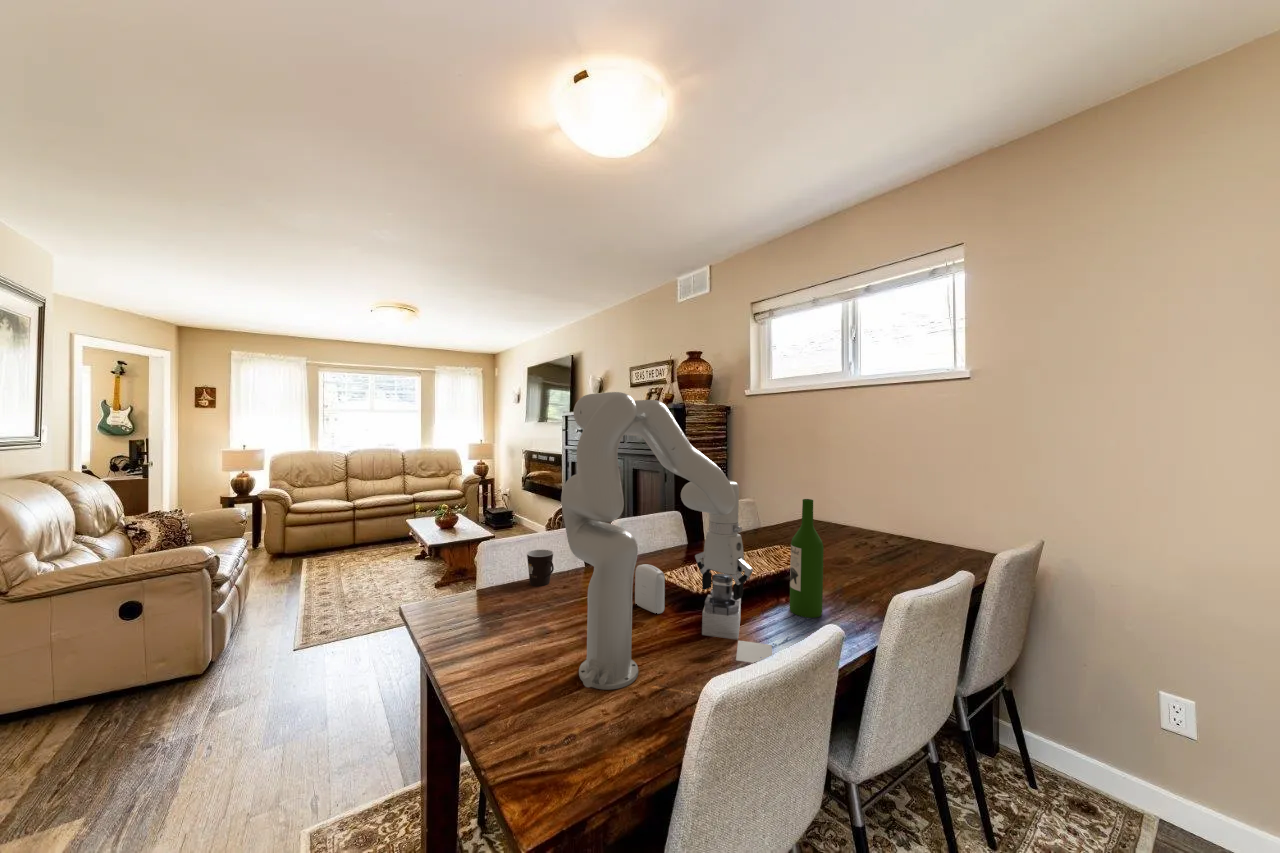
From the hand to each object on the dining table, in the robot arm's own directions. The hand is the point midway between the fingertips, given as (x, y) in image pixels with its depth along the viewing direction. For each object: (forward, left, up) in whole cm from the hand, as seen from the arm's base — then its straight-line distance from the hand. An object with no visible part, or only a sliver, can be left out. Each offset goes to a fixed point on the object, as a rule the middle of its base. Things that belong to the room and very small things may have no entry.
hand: (721, 593), depth 120 cm
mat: (-10, -9, -10) cm, 17 cm away
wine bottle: (+20, -23, -10) cm, 32 cm away
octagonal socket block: (+2, 0, -10) cm, 10 cm away
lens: (0, 0, -4) cm, 4 cm away
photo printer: (+9, +21, -10) cm, 25 cm away
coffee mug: (+17, +60, -10) cm, 63 cm away
